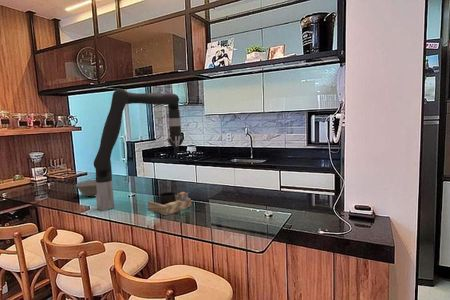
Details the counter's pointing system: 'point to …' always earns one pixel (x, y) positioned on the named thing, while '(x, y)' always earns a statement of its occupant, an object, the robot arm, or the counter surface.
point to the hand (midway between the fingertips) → (176, 152)
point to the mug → (167, 197)
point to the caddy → (171, 205)
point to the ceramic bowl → (87, 187)
